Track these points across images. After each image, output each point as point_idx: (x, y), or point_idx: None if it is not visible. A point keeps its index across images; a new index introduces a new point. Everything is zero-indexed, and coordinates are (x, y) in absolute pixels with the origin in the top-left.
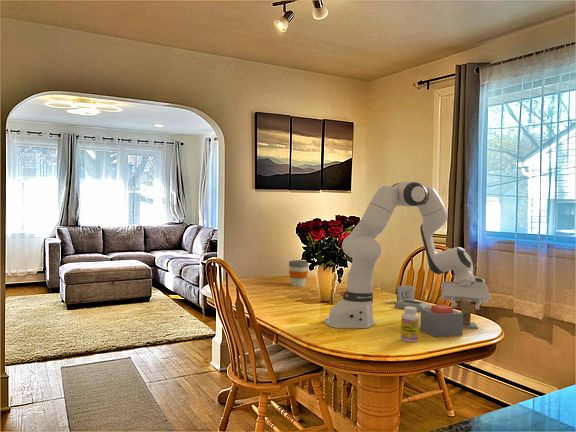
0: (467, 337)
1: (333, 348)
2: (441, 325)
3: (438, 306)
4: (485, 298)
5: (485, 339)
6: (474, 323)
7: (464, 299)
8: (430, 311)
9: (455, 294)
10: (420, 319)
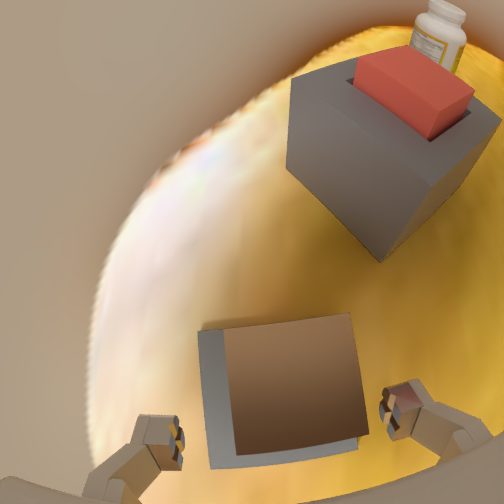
0: (262, 150)
1: (476, 48)
2: None
3: (433, 70)
4: (31, 482)
5: (187, 154)
6: (213, 439)
7: (324, 379)
8: None
9: (470, 473)
10: (479, 156)
